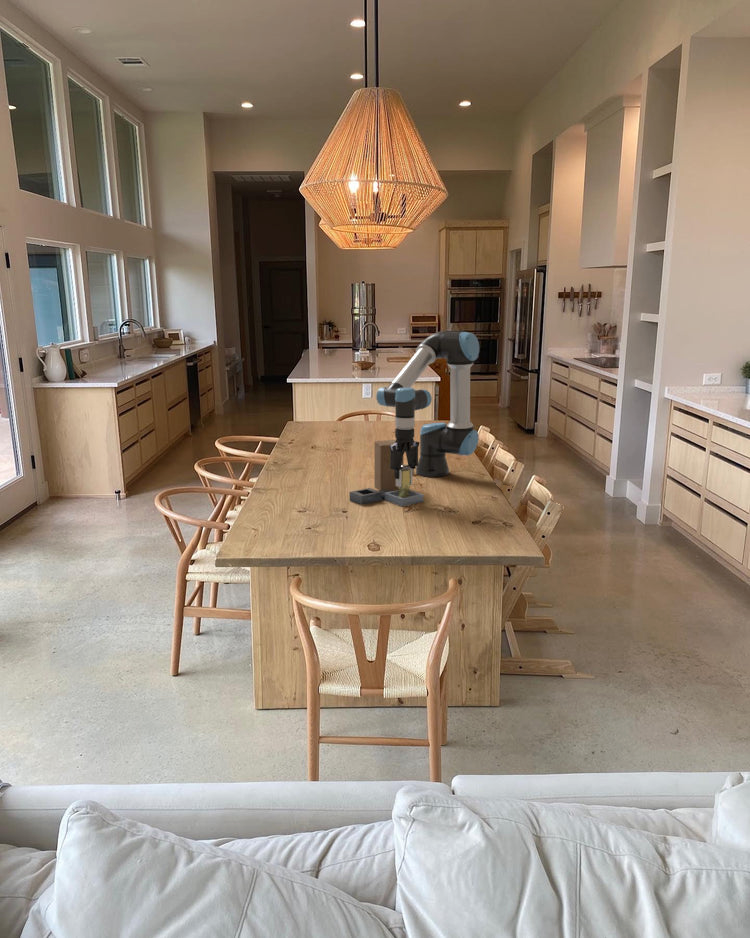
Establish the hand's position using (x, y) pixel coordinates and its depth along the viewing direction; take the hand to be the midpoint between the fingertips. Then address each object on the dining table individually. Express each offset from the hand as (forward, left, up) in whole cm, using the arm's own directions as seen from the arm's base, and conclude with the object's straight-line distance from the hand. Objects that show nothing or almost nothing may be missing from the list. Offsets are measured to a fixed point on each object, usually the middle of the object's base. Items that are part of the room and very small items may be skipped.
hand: (404, 485), depth 292 cm
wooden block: (-7, -18, -7) cm, 21 cm away
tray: (0, 0, -7) cm, 7 cm away
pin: (0, 0, -6) cm, 6 cm away
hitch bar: (+8, -9, -7) cm, 14 cm away
